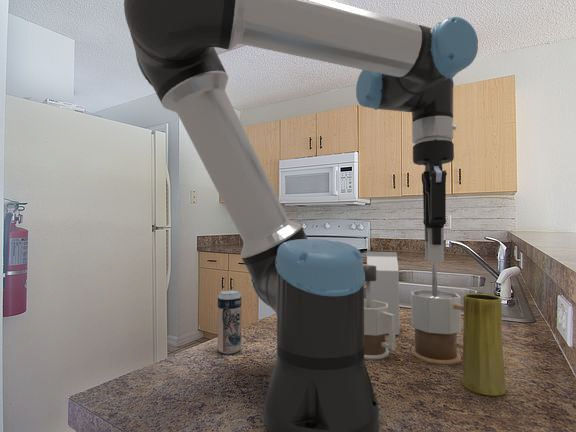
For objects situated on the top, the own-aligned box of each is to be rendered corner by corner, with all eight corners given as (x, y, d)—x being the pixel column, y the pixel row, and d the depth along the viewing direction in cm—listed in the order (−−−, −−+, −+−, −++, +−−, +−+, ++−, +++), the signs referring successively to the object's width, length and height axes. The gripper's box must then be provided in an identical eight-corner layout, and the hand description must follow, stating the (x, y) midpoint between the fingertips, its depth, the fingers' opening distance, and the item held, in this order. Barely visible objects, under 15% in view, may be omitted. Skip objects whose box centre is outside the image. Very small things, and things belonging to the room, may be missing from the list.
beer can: (227, 357, 66) (227, 295, 66) (212, 351, 69) (213, 292, 70) (246, 350, 70) (246, 291, 70) (231, 344, 73) (231, 288, 73)
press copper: (456, 374, 58) (455, 304, 58) (402, 352, 68) (401, 292, 69) (486, 364, 63) (484, 298, 63) (430, 344, 73) (430, 288, 73)
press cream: (378, 368, 61) (377, 271, 61) (341, 349, 70) (340, 265, 70) (408, 359, 65) (407, 268, 65) (369, 342, 74) (368, 263, 74)
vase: (514, 398, 50) (512, 301, 51) (469, 395, 51) (467, 299, 52) (496, 379, 56) (494, 293, 57) (456, 377, 57) (455, 292, 58)
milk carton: (399, 335, 79) (398, 253, 79) (367, 333, 80) (367, 253, 81) (396, 326, 86) (395, 251, 86) (367, 325, 87) (366, 250, 88)
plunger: (438, 303, 63) (437, 225, 63) (410, 296, 68) (409, 225, 69) (459, 299, 66) (458, 225, 66) (431, 293, 71) (430, 225, 72)
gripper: (463, 130, 59) (465, 266, 58) (445, 150, 75) (446, 257, 74) (417, 133, 61) (418, 265, 60) (409, 152, 77) (410, 256, 76)
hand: (434, 260), depth 67 cm, fingers closed on plunger, 3 cm apart
